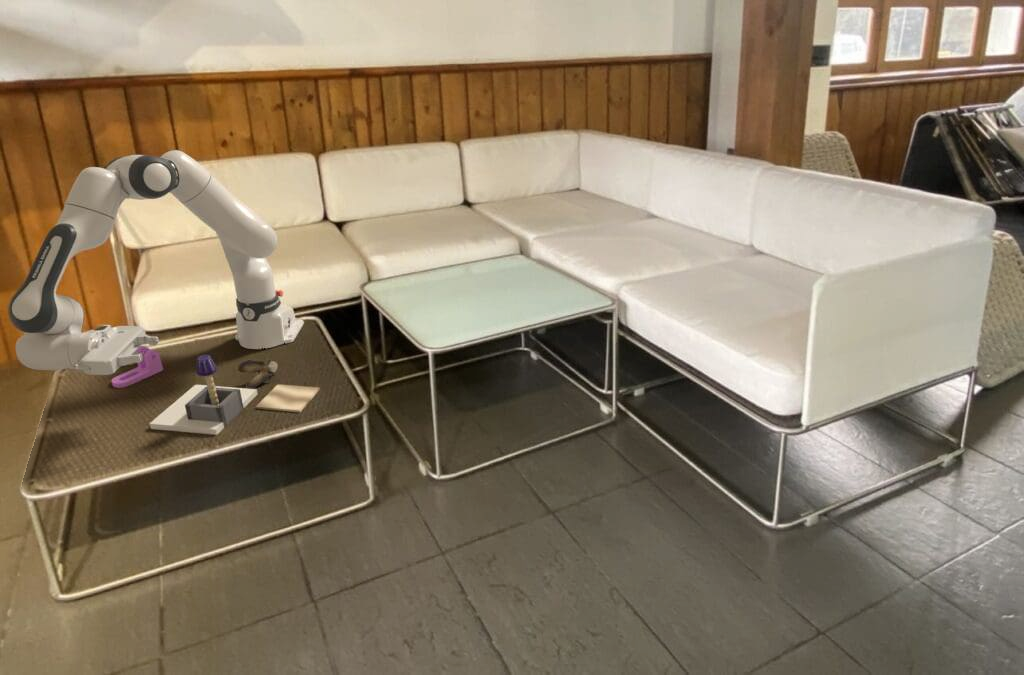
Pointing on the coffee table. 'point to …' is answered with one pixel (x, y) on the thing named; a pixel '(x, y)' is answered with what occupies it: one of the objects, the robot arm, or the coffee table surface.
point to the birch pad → (288, 398)
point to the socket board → (203, 410)
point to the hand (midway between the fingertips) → (149, 349)
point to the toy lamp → (208, 375)
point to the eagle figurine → (260, 368)
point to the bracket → (140, 368)
